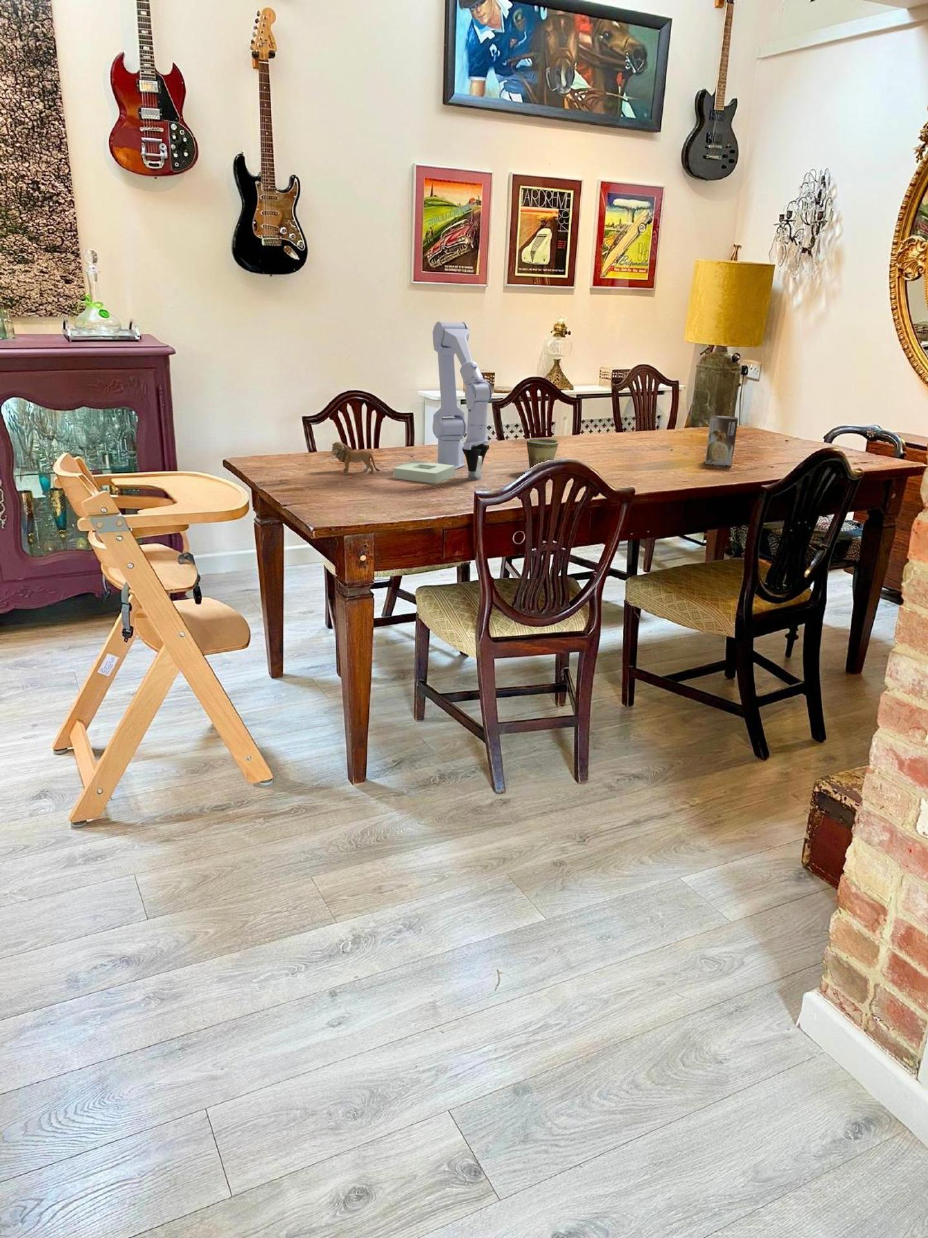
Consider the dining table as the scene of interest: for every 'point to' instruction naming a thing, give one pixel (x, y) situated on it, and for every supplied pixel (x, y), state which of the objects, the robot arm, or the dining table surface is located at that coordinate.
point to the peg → (477, 473)
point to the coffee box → (721, 440)
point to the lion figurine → (352, 456)
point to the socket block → (424, 471)
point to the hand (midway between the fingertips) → (474, 469)
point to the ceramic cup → (541, 450)
